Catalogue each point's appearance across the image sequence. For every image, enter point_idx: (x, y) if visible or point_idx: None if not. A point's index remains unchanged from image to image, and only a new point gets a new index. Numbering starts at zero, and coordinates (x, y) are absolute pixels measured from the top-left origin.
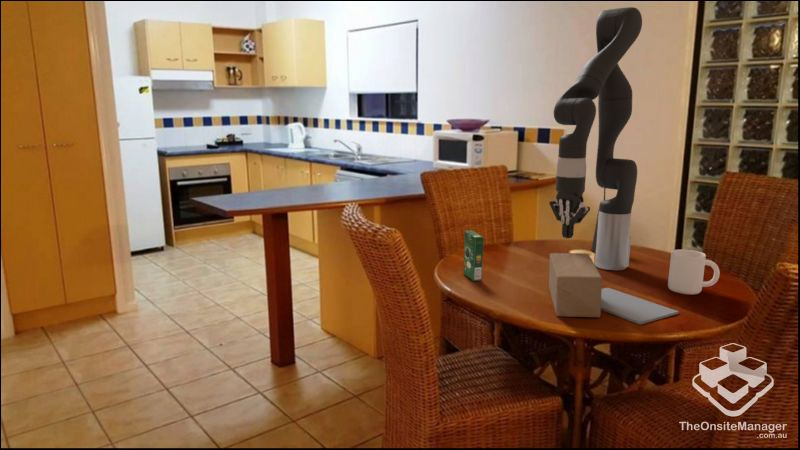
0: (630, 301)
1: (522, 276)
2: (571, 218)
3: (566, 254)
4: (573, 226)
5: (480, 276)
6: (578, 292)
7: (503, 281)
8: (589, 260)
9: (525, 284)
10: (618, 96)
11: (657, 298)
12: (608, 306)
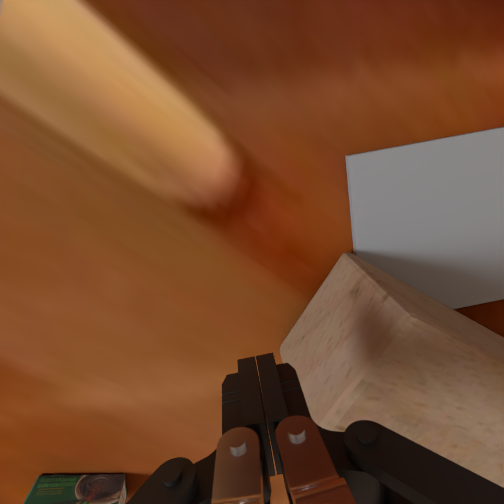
0: (488, 186)
1: (110, 346)
2: (290, 478)
3: (370, 411)
4: (310, 416)
5: (122, 489)
6: None
7: (147, 421)
8: (497, 376)
9: (196, 377)
10: None
11: (496, 45)
12: (482, 280)
